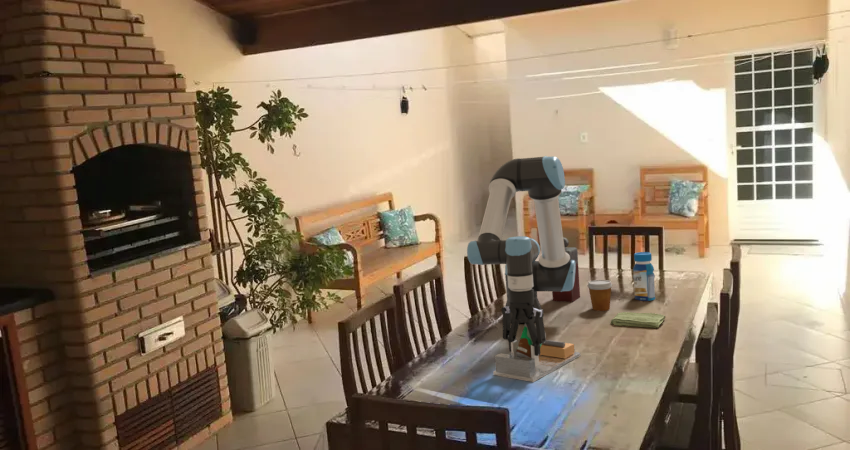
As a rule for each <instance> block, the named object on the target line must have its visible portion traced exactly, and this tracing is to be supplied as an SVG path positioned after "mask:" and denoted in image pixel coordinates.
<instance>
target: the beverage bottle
mask: <svg viewBox="0 0 850 450" xmlns="http://www.w3.org/2000/svg"><path fill="white" fill-rule="evenodd" d="M652 256H653V255H652V253H651V252H649V251H641V252H635V253H634V254H633V258H634V263H635V264H634V266H633V268H632V271H633V274H632V279H633V287H634V288H633V289H634V300H637V301H640V302H641V301H643V302H649V301H654V300H656V294H655V293H656V292H655V291H656V290H655V278H656V277H655V276H656V275H655V273H654V272H655V268H654V265H653V264H652V260H653V257H652Z"/></svg>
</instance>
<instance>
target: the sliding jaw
mask: <svg viewBox="0 0 850 450" xmlns="http://www.w3.org/2000/svg"><path fill="white" fill-rule="evenodd" d="M574 352H575V344H574V343H569V342H565V341H557V340H556V341H555V340H548V339H546V342H545V343H543V344H542V345H541V348H540V355H545V356H552V357H558V358H567V357H569V356H571V355H572V354H574Z"/></svg>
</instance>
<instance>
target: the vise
mask: <svg viewBox="0 0 850 450" xmlns="http://www.w3.org/2000/svg"><path fill="white" fill-rule="evenodd" d="M581 353H582V352H579V351H574V354H572V355H571V356H569V357H567V358H558V357H552V356H545V355H538V356H539V365H537V366H535V358H528V357H522V356H515V355H512V354H507V353H501V352H500V353H498V354H496V355H494V363H495V364H494V365H495V370H493V373H492V374H493V376H498V377H503V378H509V379H515V380H521V381H527V382H531V383H535V382H536V381H538V380H540V379H542V378H544V377H546V376H547V375H549V374H551V373H552V372H555V370H558V369H560V368H562V367H563V366H565V365H567V364H569V363H570V362H572V361H574V360H576V359H577V358H579V357H581V355H582V354H581Z"/></svg>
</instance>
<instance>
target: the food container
mask: <svg viewBox="0 0 850 450" xmlns="http://www.w3.org/2000/svg"><path fill="white" fill-rule="evenodd" d="M535 326H536V323H535ZM545 338H546V339H547V332H545ZM544 343H545V342H544ZM532 344H533V342H532V340H531V337H530V334H529V331H528V328H527V325H526V324H525V323H524V325H523V328H522V333H521V336H520V339H519V341H518V347H517V351H516V353H517V356H522V357H528V358H531V345H532ZM542 344H543V343H542ZM542 344H540V348H541V345H542Z"/></svg>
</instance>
